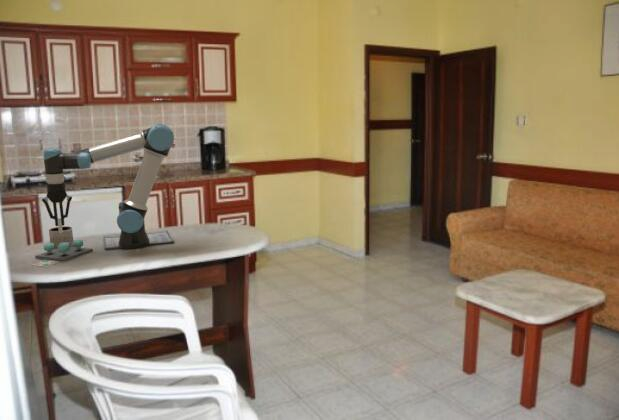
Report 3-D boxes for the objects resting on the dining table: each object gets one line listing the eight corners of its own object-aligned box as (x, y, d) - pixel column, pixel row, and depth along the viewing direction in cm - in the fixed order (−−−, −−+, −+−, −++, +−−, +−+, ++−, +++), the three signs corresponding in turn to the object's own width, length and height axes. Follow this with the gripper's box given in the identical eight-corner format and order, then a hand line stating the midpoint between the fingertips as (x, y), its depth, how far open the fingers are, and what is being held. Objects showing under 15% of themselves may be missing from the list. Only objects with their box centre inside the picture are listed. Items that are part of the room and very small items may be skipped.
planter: (64, 250, 261) (62, 231, 259) (46, 249, 263) (43, 230, 261) (78, 244, 271) (76, 226, 269) (60, 243, 274) (58, 226, 272)
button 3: (72, 250, 259) (71, 242, 258) (64, 252, 254) (63, 244, 254) (65, 249, 260) (64, 241, 259) (57, 251, 256) (56, 244, 255)
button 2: (71, 252, 247) (70, 244, 246) (63, 255, 243) (63, 247, 242) (64, 252, 248) (63, 244, 248) (56, 254, 244) (55, 246, 243)
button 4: (57, 251, 250) (56, 243, 249) (49, 253, 246) (48, 245, 245) (50, 250, 252) (49, 242, 251) (42, 253, 247) (41, 245, 247)
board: (93, 251, 257) (92, 248, 256) (64, 262, 240) (64, 258, 240) (65, 248, 263) (64, 245, 263) (35, 258, 247) (35, 255, 246)
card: (59, 262, 240) (59, 261, 240) (45, 267, 233) (45, 266, 233) (46, 260, 243) (46, 259, 243) (31, 265, 236) (31, 264, 235)
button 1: (85, 248, 255) (85, 240, 254) (78, 250, 251) (77, 242, 250) (78, 247, 257) (77, 239, 256) (71, 249, 252) (70, 241, 252)
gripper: (71, 180, 245) (75, 229, 249) (40, 182, 240) (45, 232, 244) (71, 182, 238) (75, 232, 243) (39, 184, 233) (44, 235, 237)
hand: (60, 232), depth 243 cm, fingers closed
